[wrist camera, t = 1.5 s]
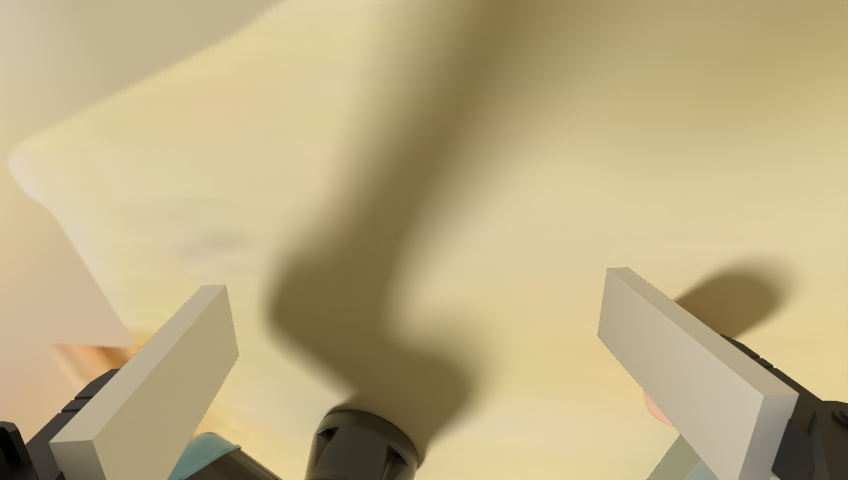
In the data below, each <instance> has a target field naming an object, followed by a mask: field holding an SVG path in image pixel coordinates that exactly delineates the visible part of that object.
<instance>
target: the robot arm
mask: <svg viewBox="0 0 848 480" xmlns="http://www.w3.org/2000/svg"><path fill="white" fill-rule="evenodd" d="M597 336H598V337H599V338H600V340H601V341H602V342H603V343H604V344H605V346H606V347H607V348H608V349H609V350H610V351H611V353H612V354H613V355H614V356H615V357H616V358H617V360H618V361H619V362H620V363H621V364H622V366H623V367H624V368H625V369H626V370H627V371H628V373H629V374H630V375H631V376H632V377H633V379H634V380H635V381H636V382H637V383H638V384H639V386H640V387H641V388H642V389H643V390H644V391H645V393H646V394H647V395H648V396H649V397H650V399H651V400H652V401H653V402H654V403H655V404H656V406H657V407H658V408H659V409H660V410H661V412H662V413H663V414H664V415H665V416H666V417H667V419H668V420H669V421H670V422H671V423H672V424H673V426H674V427H675V428H676V429H677V430H678V432H679V433H680V434H681V435H682V436H683V437H684V439H685V440H686V441H687V442H688V443H689V445H690V446H691V447H692V448H693V449H694V450H695V452H696V453H697V454H698V455H699V456H700V457H701V459H702V460H703V461H704V462H705V463H706V465H707V466H708V467H709V468H710V469H711V470H712V472H713V473H714V474H715V475H716V476H717V478H718V479H719V480H769V479H770V477H771V474H772V472H773V473H774V474H775V475H776V476H777V477H778V478H779V479H780V480H848V403H844V402H839V401H822V400H821V399H819V398H818V397H816V396H815V395H814V394H812V393H811V392H809V391H808V390H807V389H805V388H804V387H802V386H801V385H800V384H798V383H797V382H795V381H794V380H793V379H791V378H790V377H788V376H787V375H786V374H784V373H783V372H781V371H780V370H779V369H777V368H773V365H772V364H770V363H769V362H767V361H766V360H765V359H763V358H760V356H759V355H758V354H756V353H755V352H753V351H752V350H751V349H749V348H748V347H746V346H745V345H744V344H742V343H740V342H737V341H735V340H733V339H731V338H729V337H727V336H724V335H722V334H720V335H719V334H717V333H716V332H715V331H713V330H712V329H711V328H709V327H708V326H707V325H705V324H704V323H702V322H701V321H700V320H698V319H697V318H696V317H694V316H693V315H692V314H690V313H689V312H688V311H686V310H685V309H683V308H682V307H681V306H679V305H678V304H677V303H675V302H674V301H673V300H671V299H670V298H669V297H667V296H666V295H664V294H663V293H662V292H660V291H659V290H658V289H656V288H655V287H654V286H652V285H651V284H650V283H648V282H647V281H646V280H644V279H643V278H641V277H640V276H639V275H637V274H636V273H635V272H633V271H632V270H631V269H629V268H628V267H627V268H607V272H606V279H605V286H604V293H603V300H602V307H601V314H600V321H599V328H598V335H597ZM238 356H239V352H238V346H237V341H236V336H235V330H234V325H233V320H232V314H231V309H230V304H229V299H228V293H227V288H226V285H209V286H202V287H201V288H200V289H199V290H198V291H197V292H196V293H195V294H194V295H193V296H192V297H191V298H190V299H189V300H188V301H187V302H186V303H185V304H184V305H183V306H182V307H181V308H180V309H179V310H178V311H177V312H176V313H175V314H174V315H173V316H172V317H171V318H170V319H169V320H168V321H167V322H166V323H165V324H164V325H163V326H162V327H161V328H160V329H159V330H158V331H157V332H156V334H155V335H154V336H153V337H152V338H151V339H150V340H149V341H148V342H147V343H146V344H145V345H144V346H143V347H142V348H141V349H140V350H139V351H138V352H137V353H136V354H135V355H134V356H133V357H132V358H131V359H130V360H129V361H128V362H127V363H126V364H125V365H124V366H123V367H122V368H121V369H111V370H110V371H108V372H106V373H105V374H103V375H101V376H100V377H98V378H97V379H95V380H93V381H92V382H90V383H89V384H88V385H87V386H86V387H85V388H84V389H83V390H82V391H81V392H80V393H79V394H78V395H77V396H76V397H75V399H74V400H72V401H70V402H69V403H68V404H67V405H66V406H65V407H64V408H63V409H62V412H61V413H58V414H57V415H56V416H55V417H54V418H53V419H52V420H51V421H50V422H49V423H48V424H46V426H44V427H43V428H42V429H41V430H40V431H39V432H38V433H37V434H36V435H35V436H34V437H33V438H32V439H31V440H30V441H29V442H28V443H27V444H26V445H25V444H24V441H23V439H22V437H21V434H20V432H19V430H18V428H17V427H16V425H15V424H14V423H10V422H4V421H1V422H0V480H282V479H281V478H280V477H278V476H277V475H275V474H274V473H273V472H271V471H270V470H268V469H267V468H266V467H264V466H263V465H261V464H260V463H259V462H257V461H256V460H254V459H253V458H252V457H250V456H249V455H248V454H246V453H245V452H243V451H242V450H241V446H239V445H234V444H232V443H231V442H229V441H227V440H226V439H224V438H223V437H221V436H220V435H218V434H216V433H213V432H206V433H202V434H200V435H198V436H196V437H195V438H193V439H192V440H191V441H190V439H191V437H192V436H193V434H194V432H195V430H196V429H197V427H198V425H199V424H200V422H201V420H202V418H203V417H204V415H205V413H206V411H207V410H208V408H209V406H210V405H211V403H212V401H213V399H214V398H215V396H216V394H217V393H218V391H219V389H220V387H221V386H222V384H223V382H224V380H225V379H226V377H227V375H228V374H229V372H230V370H231V368H232V367H233V365H234V363H235V361H236V360H237V358H238ZM189 441H190V442H189ZM417 466H418V455H417V452H416V450H415V448H414V446H413V444H412V443H411V442H410V440H409V439H408V438H407V437H406V436H405V435H404V434H403V433H402V432H401V431H400V430H399V429H397V428H396V427H395V426H393V425H392V424H390V423H388V422H387V421H385V420H383V419H381V418H379V417H376V416H374V415H371V414H367V413H364V412H359V411H350V410H344V411H337V412H334V413H331V414H329V415H327V416H326V417H325V418H324V419H323V420H322V422H321V423H320V425H319V427H318V429H317V431H316V432H315V435H314V437H313V441H312V446H311V451H310V456H309V461H308V466H307V471H306V476H305V480H414V476H415V473H416V470H417Z"/></svg>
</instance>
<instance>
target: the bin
mask: <svg viewBox="0 0 848 480" xmlns="http://www.w3.org/2000/svg"><path fill="white" fill-rule="evenodd" d="M647 480H719V479H718V478H717V476H716V475H715V474H714V473H713V472H712V470H711V469H710V468H709V467H708V466H707V465H706V463H705V462H704V461H703V460H702V459H701V457H700V456H699V455H698V454H697V453H696V452H695V450H694V449H693V448H692V447H691V446H690V445H689V443H688V442H687V441H686V440H685V439H684V437H683V436H682V435H680V436H679V438H678V439H677V440H676V442H675V443H674V444H673V446H672V447H671V448H670V450H669V451H668V452H667V454H666V455H665V456H664V458H663V459H662V460H661V462H660V463H659V464H658V466H657V467H656V468H655V470H654V471H653V472H652V474H651V475H650V476H649V478H648V479H647ZM769 480H780V479H779V478H778V477H777V476H776V475H775V474H774V473H773V472H772V474H771V477H770V479H769Z"/></svg>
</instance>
